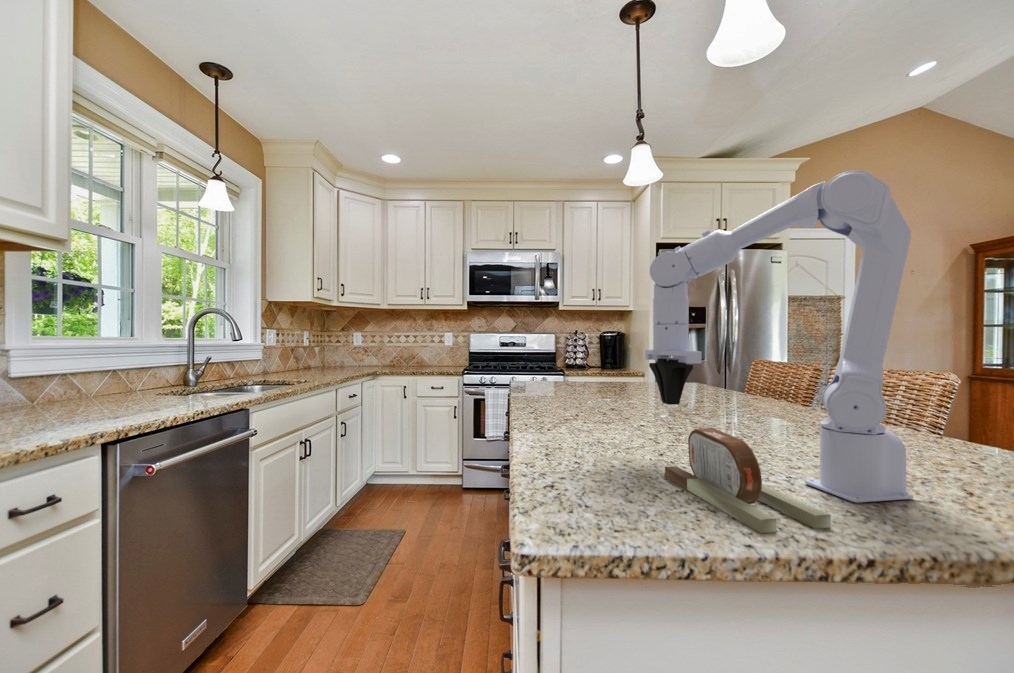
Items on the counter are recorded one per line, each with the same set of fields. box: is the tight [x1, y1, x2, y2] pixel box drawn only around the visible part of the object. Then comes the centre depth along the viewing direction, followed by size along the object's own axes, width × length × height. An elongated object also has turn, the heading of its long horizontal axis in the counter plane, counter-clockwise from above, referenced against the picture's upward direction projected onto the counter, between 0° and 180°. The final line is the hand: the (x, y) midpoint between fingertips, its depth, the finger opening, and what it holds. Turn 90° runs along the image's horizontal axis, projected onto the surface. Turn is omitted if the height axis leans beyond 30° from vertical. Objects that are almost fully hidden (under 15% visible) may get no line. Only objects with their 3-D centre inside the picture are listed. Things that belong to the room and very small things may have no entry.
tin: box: [687, 427, 763, 505], centre depth 60 cm, size 15×3×8 cm, turn 2°
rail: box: [664, 465, 832, 534], centre depth 58 cm, size 9×20×2 cm, turn 10°
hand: (670, 403), depth 74 cm, fingers closed
